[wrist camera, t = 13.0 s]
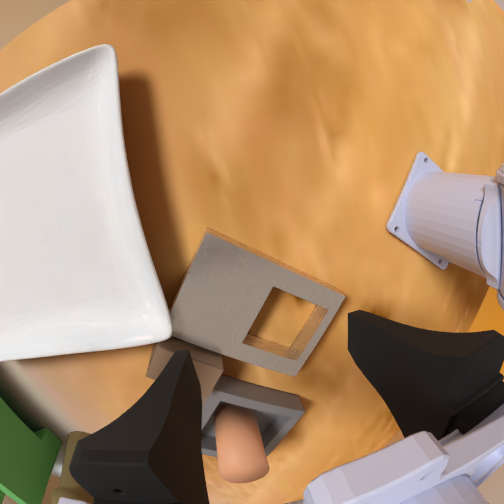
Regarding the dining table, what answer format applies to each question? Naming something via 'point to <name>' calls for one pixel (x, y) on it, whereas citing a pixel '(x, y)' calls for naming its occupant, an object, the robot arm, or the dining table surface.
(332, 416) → the dining table surface
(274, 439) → the tray
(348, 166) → the dining table surface
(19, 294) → the salad plate
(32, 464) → the ramp block with notch
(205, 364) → the block
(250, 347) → the grey flat frame
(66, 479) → the brown pawn
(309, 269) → the dining table surface
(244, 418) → the dowel
